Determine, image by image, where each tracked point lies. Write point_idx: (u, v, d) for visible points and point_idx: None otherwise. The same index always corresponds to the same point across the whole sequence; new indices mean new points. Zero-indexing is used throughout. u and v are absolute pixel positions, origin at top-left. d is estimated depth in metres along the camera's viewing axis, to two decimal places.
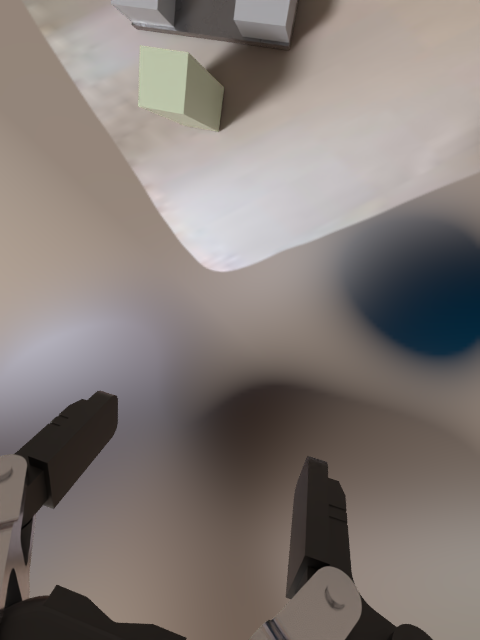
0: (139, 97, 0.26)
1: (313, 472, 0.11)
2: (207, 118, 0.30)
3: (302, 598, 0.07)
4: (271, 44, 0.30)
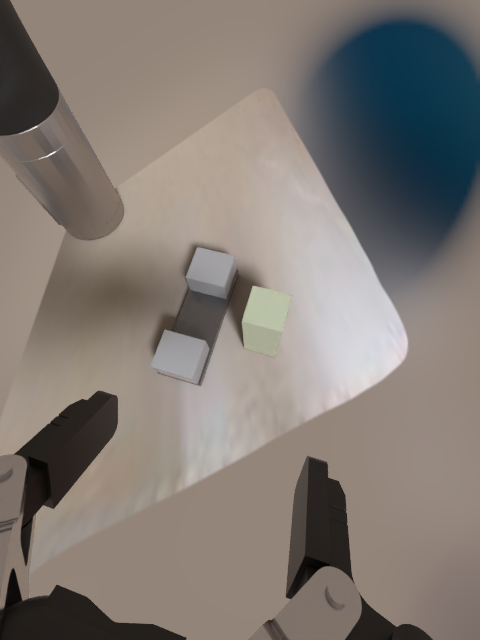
0: (275, 329, 0.30)
1: (313, 472, 0.11)
2: None
3: (302, 598, 0.07)
4: (234, 280, 0.42)
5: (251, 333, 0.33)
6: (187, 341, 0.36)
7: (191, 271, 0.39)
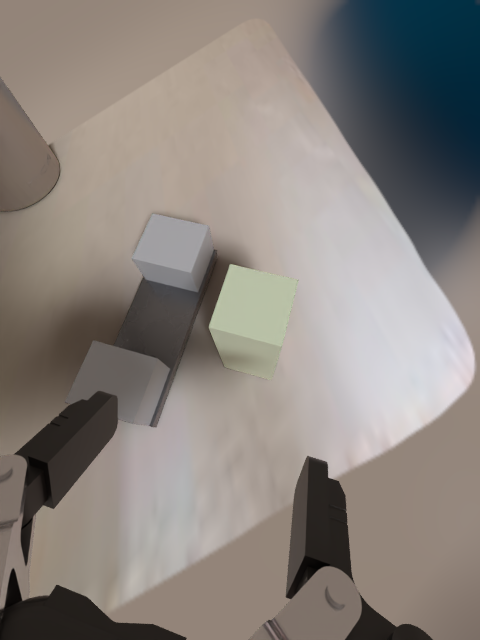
0: (270, 341, 0.16)
1: (313, 472, 0.11)
2: None
3: (302, 598, 0.07)
4: (211, 265, 0.29)
5: (230, 347, 0.20)
6: (129, 359, 0.22)
7: (141, 250, 0.25)
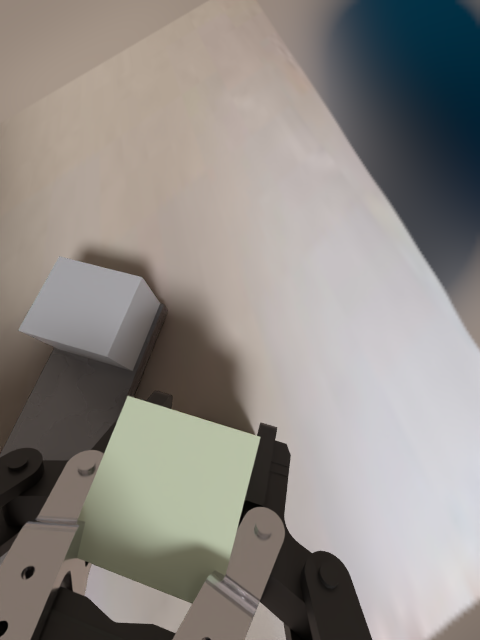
0: (191, 598, 0.07)
1: (262, 435, 0.12)
2: None
3: None
4: (154, 327, 0.20)
5: None
6: None
7: (35, 316, 0.16)
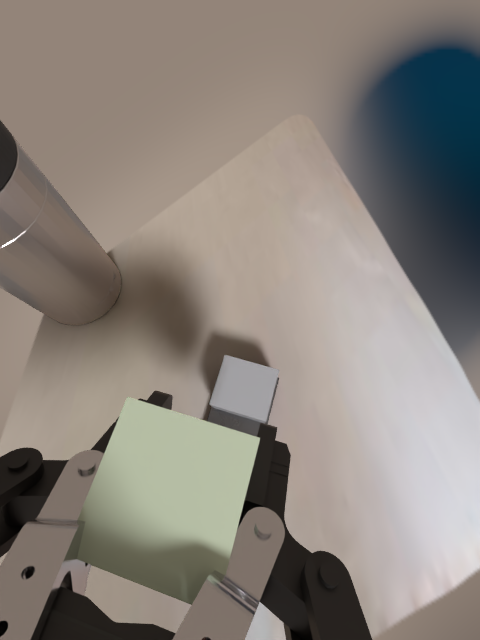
0: (191, 599, 0.07)
1: (262, 435, 0.12)
2: None
3: None
4: None
5: None
6: None
7: (218, 395, 0.27)
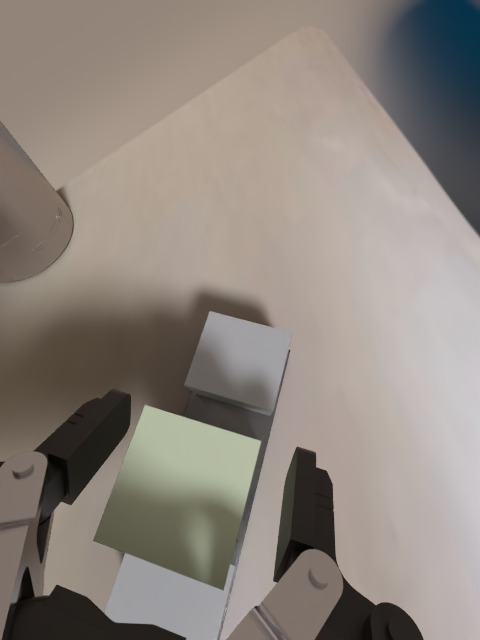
0: (202, 578, 0.09)
1: (301, 461, 0.11)
2: None
3: (286, 577, 0.08)
4: (284, 372, 0.21)
5: None
6: None
7: (198, 371, 0.17)
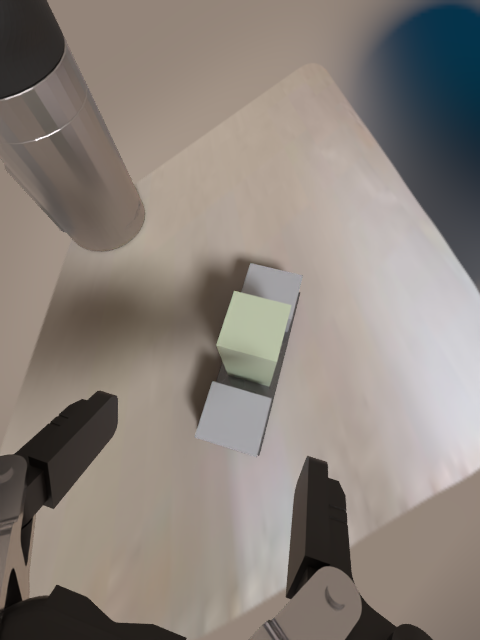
0: (267, 358, 0.20)
1: (313, 472, 0.11)
2: None
3: (302, 598, 0.07)
4: (296, 306, 0.32)
5: (233, 360, 0.23)
6: (246, 398, 0.25)
7: None
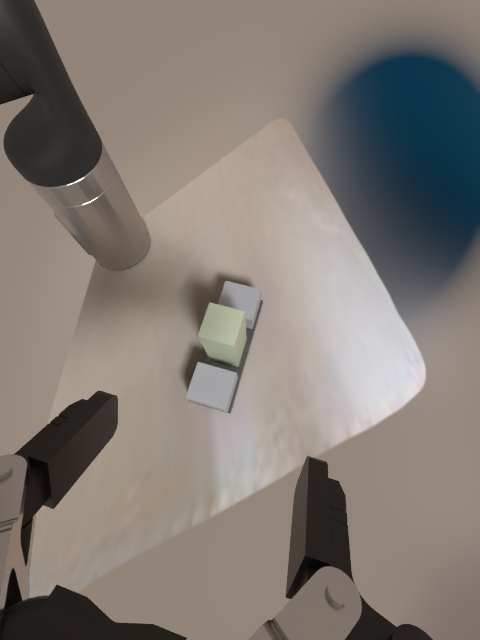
0: (228, 343, 0.33)
1: (313, 472, 0.11)
2: None
3: (302, 598, 0.07)
4: (259, 310, 0.44)
5: (210, 346, 0.36)
6: (220, 373, 0.38)
7: None
